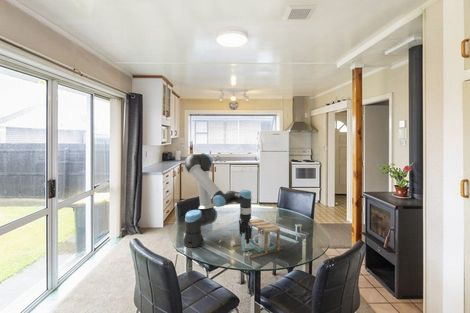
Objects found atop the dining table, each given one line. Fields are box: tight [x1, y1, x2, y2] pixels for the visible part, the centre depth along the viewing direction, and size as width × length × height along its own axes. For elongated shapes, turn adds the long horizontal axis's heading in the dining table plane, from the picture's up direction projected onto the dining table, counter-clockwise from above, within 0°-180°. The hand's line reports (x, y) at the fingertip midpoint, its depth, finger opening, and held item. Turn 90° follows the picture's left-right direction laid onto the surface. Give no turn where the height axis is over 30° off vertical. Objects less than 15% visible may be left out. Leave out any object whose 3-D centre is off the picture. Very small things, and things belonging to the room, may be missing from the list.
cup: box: [252, 230, 271, 249], centre depth 186 cm, size 8×12×10 cm
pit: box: [270, 238, 287, 248], centre depth 194 cm, size 14×7×1 cm, turn 32°
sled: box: [241, 233, 276, 254], centre depth 184 cm, size 18×23×12 cm
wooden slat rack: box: [232, 218, 284, 259], centre depth 184 cm, size 23×28×16 cm
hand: (245, 246), depth 179 cm, fingers closed on sled, 3 cm apart
